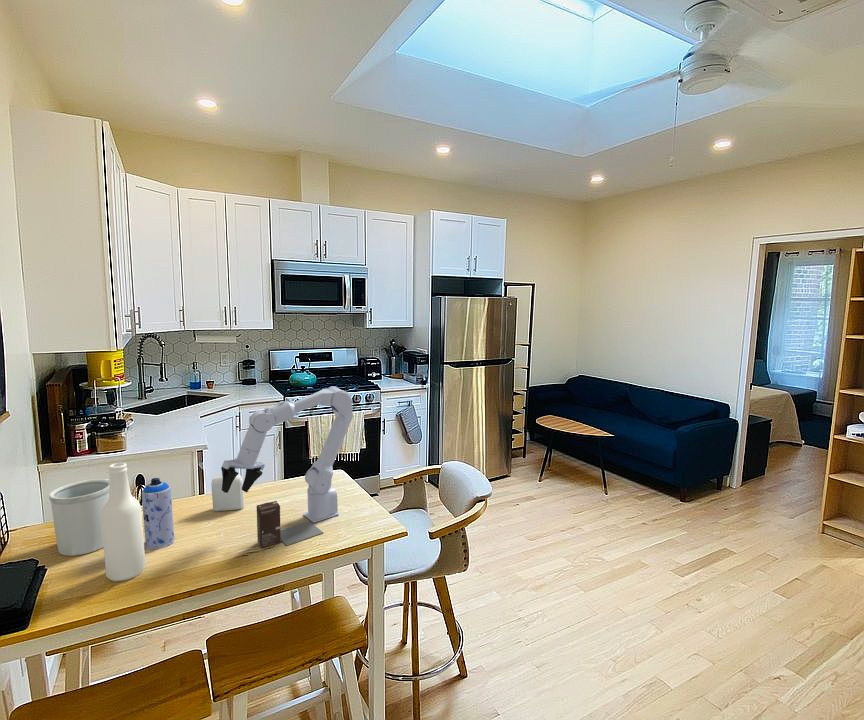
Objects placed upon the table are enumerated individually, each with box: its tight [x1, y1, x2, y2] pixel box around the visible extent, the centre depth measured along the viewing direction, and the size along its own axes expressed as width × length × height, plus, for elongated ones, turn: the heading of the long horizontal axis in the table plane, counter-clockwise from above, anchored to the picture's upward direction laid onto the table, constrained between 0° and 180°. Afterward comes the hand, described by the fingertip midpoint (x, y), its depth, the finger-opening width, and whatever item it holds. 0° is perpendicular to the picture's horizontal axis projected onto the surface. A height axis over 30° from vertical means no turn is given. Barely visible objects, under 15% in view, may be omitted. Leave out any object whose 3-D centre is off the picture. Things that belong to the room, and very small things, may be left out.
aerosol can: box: [141, 477, 176, 550], centre depth 139 cm, size 8×8×20 cm
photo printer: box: [211, 474, 245, 512], centre depth 162 cm, size 10×4×12 cm, turn 99°
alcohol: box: [101, 462, 146, 582], centre depth 123 cm, size 9×9×30 cm
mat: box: [280, 520, 324, 547], centre depth 146 cm, size 12×10×1 cm
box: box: [256, 500, 282, 549], centre depth 139 cm, size 6×4×12 cm
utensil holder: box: [48, 478, 109, 557], centre depth 138 cm, size 15×15×18 cm
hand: (234, 491), depth 142 cm, fingers open, 7 cm apart
